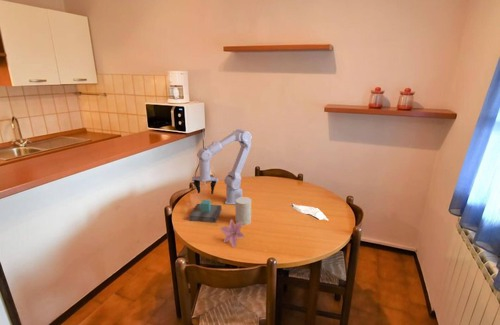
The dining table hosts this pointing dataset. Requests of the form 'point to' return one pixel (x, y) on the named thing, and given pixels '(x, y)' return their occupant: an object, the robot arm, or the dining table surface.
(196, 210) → the plinth
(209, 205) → the block
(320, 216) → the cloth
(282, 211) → the dining table surface
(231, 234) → the lily
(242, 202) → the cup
